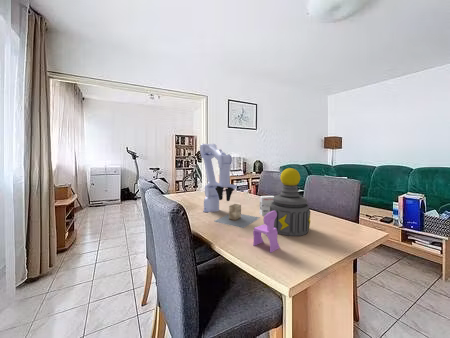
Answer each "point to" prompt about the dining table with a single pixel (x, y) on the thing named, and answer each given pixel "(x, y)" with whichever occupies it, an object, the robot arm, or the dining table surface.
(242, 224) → the slate board
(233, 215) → the maple block
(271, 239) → the toy chair
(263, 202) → the ink box
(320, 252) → the dining table surface
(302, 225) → the decorative lamp
